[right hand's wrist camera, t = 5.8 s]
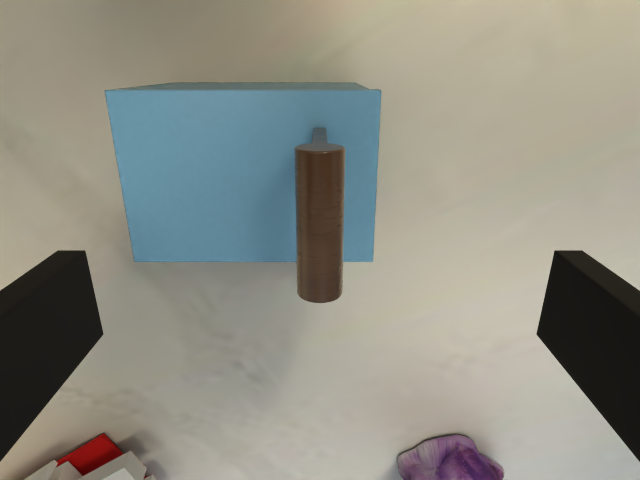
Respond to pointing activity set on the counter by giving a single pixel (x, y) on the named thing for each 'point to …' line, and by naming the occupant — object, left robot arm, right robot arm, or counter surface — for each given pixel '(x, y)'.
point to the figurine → (448, 461)
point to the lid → (250, 177)
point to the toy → (94, 464)
